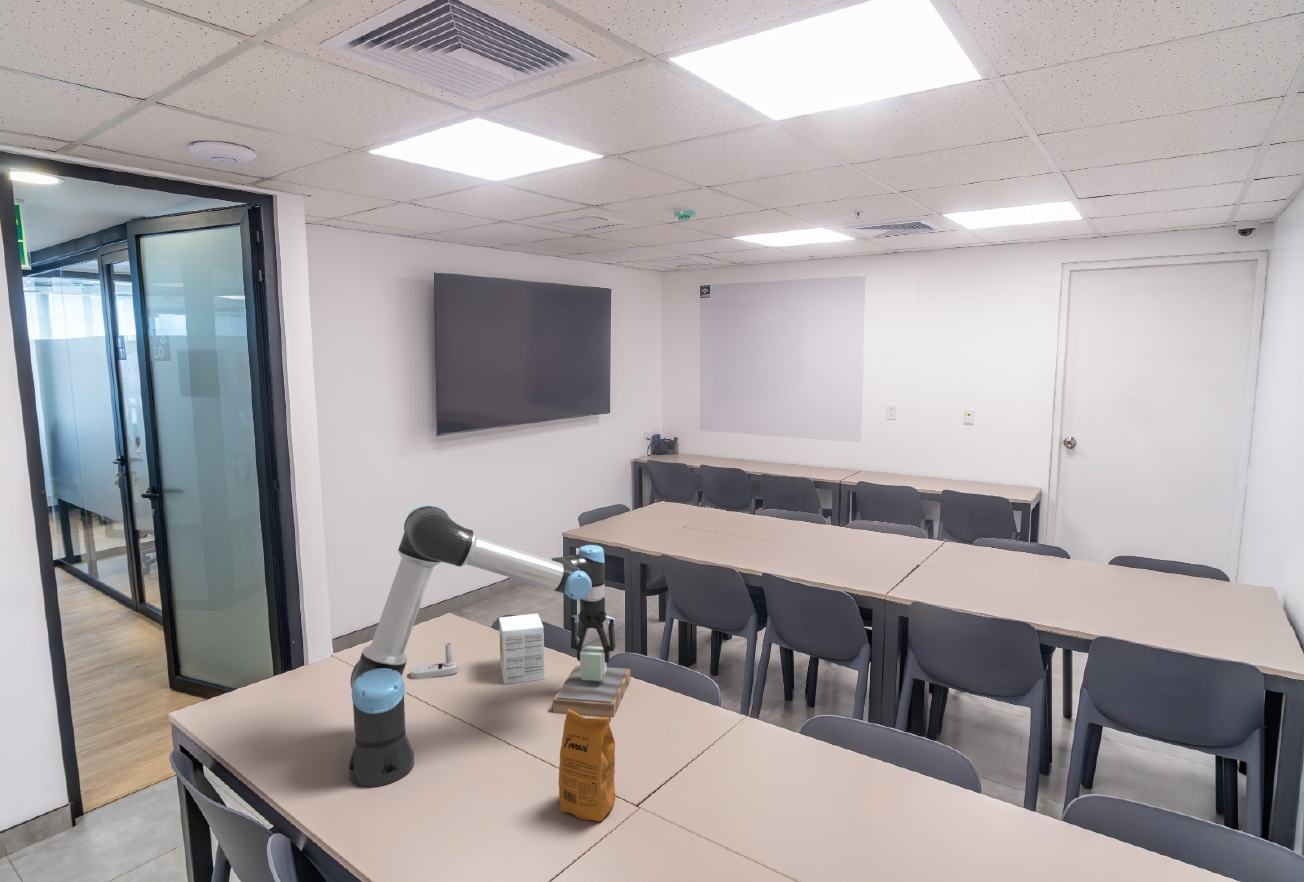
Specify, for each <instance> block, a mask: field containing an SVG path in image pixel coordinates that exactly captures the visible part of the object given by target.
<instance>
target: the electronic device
mask: <svg viewBox="0 0 1304 882" xmlns="http://www.w3.org/2000/svg"><path fill="white" fill-rule="evenodd" d="M444 647H445V662H439V663H431V664H425V665H423V664H422V665H416V666H414V667H412V668H411V669H410V670H409V674H410V679H412V680H420V679H421V680H422V679H429V678H436V677H444V676H451V675H454V674H457V673H458V672H459V663H458V662H456V661H454V660H453V652H452V644H451V643H450V642H447V643H445V644H444Z"/></svg>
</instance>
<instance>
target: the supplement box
mask: <svg viewBox="0 0 1304 882" xmlns="http://www.w3.org/2000/svg"><path fill="white" fill-rule="evenodd" d="M498 624H499V625H498V626H499V629H498V630H499V649H500V650H499V654H500V671H501V677H502V681H503V684H504V685H509V684H517V683H523V682H531V681H538V680H545V637H544V636H545V635H544V634H545V631H544V629H545V628H544V625H543V623H542V619H541V618H540V615H539V613H529V614H521V615H518V614H517V615H511V616H502V617H499V618H498Z"/></svg>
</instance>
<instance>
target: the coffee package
mask: <svg viewBox="0 0 1304 882" xmlns="http://www.w3.org/2000/svg"><path fill="white" fill-rule="evenodd" d="M565 716H566V717H565V720H564V725H563V732H562V733H563V734H562V739H561V746H560V750H559V751H560V752H559V766H558V767H559V768H558V797H559V799H558V800H559V812H561V813H566V814H572V815H573V816H575V817H576V818H578V819H579V820H582V821H594V822H601V821H604V820H605V817H606V816H607V815H608V814H609V812H610V811H611V810H612V809H613V806H614V805H615V801H616V785H615V773H616V770H615V768H616V767H615V765H616V754H615V753H616V740H615V738H614V735H613V732H612V729H611V725H610V724H611V720H612V719H611V717H605V716H599V717H587V718H586V717H584V716H582V715H581V714H577V713H576V712H574V711H572V710H571V709H568V710H567V713H565Z"/></svg>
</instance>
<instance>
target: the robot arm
mask: <svg viewBox="0 0 1304 882" xmlns="http://www.w3.org/2000/svg"><path fill="white" fill-rule="evenodd" d="M403 530H404V531H403V532H404V533H403V535H402V538H401V540H400V544H399V547H398V549H397V552H398V554H399V555H400V558H401V559H400V561H399V564H398V567H397V570H396V573H395V575H394V578H393V582H392V583H391V587H390V590H389V593H388V596H387V599H386V602H385V604H384V607H383V610H382V613H381V615H380V619H379V621H378V624H377V626H376V627H377V628H376V630H375V633H374V635H373V639H372V641H371V644H369V645H368V646H365V647H364V648H362V652H361V655H360V657H359V660H358V661H357V662H356V663H355V664H354V667H353V669H352V671H351V674H350V679H349V680H350V681H349V682H350V688H351V700H352V707H353V708H352V711H353V729H354V747H353V749H352V754H351V755H350V759H349V760H350V761H349V763H348V769H347V770H348V779H349V781H350V782H351V783H352V784H355V785H356V786H360V787H365V788H366V787H368V788H369V787H373V788H374V787H381V786H385V785H389V784H391V783H394V782H396V781H399V780H400V779H402V778H404V777H405V776H407V775H408V774H409V773H410V772H411V771H412V770H413V768H414V767H415V752H414V750H413V749H412V746H411V743H410V741H409V738H408V736H407V731H406V729H407V728H406V713H405V712H406V710H405V690H406V689H405V688H406V687H405V682H404V678H403V674H404V671H405V667H406V665H407V662H408V656H407V655H406V653H405V650H406V647H407V645H408V642H409V639H410V636H411V632H412V630H413V627H414V624H415V621H416V619H417V616H418V612H419V611H420V610H419V609H420V607H421V605H422V601H423V599H424V596H425V593H426V590H427V587H428V584H429V581H430V578H431V576H432V573H433V570H434V567H435V566H437V565H440V564H441V563H445V564H449V565H452V566H454V567H455V566H456V567H458V568H459V567H460V568H461V567H463V566H465V565H467V566H471V567H473V568H477V569H480V570H483V571H488V572H490V573H495V574H497V575H501V576H505V577H507V578H512V579H514V580H518V581H520V582H525V583H528V584H531V585H534V586H537V587H542V588H545V589H547V590H552V591H554V592H557V593H560V594H564V595H566V596H567V597H568V598H570V599H572V600H576V601H579V613H578V614H572V615H571V617H570V618H569V620H570V624H571V634H570V648H571V649H572V650H573V649H574V650H575V651H576V659H577V661H579V662H580V663H579V664H580V673H581V653H582V652H583V650H584V649H585V647H584V643H585V640H586V636H587V634H588V631H589V629H594V630H596V632H597V633H598V637H599V640H600V644H601V647H603V649H604V651H603V652H602V674H605V673H606V671H607V667H608V666H607V664H608V663H609V662H610V659H611V657H610V653H611V652H614V651H615V649H616V646H617V645H616V633H615V622H616V617H615V616H608V615H607V613H606V597H605V596H606V586H605V585H606V584H605V583H606V582H605V580H606V579H605V562H606V560H605V552H604V551H605V550H604V548H603V547H601V546H599V545H597V544H596V545H595V544H586V545H583V546H581V547H579V549H578V554H575V555H568V556H558V557H549V558H546V557H542V556H541V555H537V554H534V553H530V552H529V551H528V552H527V551H524V550H520V549H518V548H515V547H511V546H509V545H505V544H503V543H499V542H496V541H493V540H490V539H487V538H484V537H481V536H478V535H476V532H475V531H474V530H472V529H469V528H466V527H464V526H462V525H460V524H458V523H456V522H455V521H454V520H452V518H451V517H450V516H449V514H448V512H446V511H445V510H444V509H442V508H440V507H438V506H436V505H431V504H428V505H420V506H418V507H415V509H413V510H412V511H410V512H409V513H408V515H407V517H406V518H405V520H404V524H403ZM579 620H580V622H581V623H582V628H581V629H582V630H581V633H580V636H579V640H578V630H579V629H578V627H579V625H578V624H579ZM605 621H606V624H607V625H608V627H607V628H608V629H607V630H608V638H607V635H606V632H605V629H604V622H605ZM583 647H584V648H583Z"/></svg>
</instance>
